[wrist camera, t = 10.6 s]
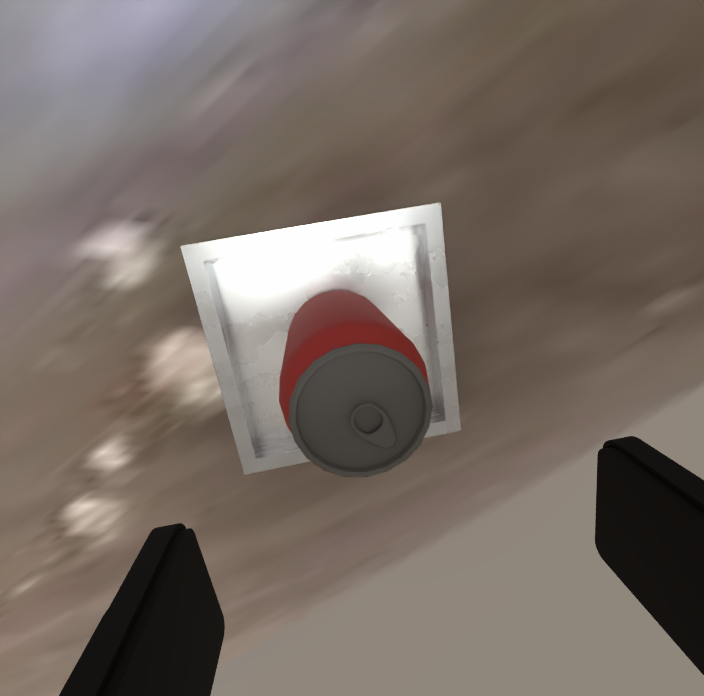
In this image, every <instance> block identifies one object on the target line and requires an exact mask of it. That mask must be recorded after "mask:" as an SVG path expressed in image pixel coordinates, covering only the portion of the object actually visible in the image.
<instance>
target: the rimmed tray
mask: <svg viewBox="0 0 704 696" xmlns="http://www.w3.org/2000/svg"><path fill="white" fill-rule="evenodd" d="M180 247H181V250H182V254H183V257H184V261H185V264H186V268H187V272H188V275H189V279H190V282H191V286H192V289H193V293H194V297H195V300H196V304H197V307H198V311H199V314H200V318H201V321H202V325H203V329H204V332H205V336H206V339H207V343H208V346H209V350H210V353H211V357H212V361H213V364H214V368H215V371H216V375H217V378H218V382H219V386H220V389H221V393H222V396H223V400H224V403H225V407H226V410H227V414H228V418H229V421H230V425H231V428H232V432H233V435H234V439H235V442H236V446H237V450H238V453H239V457H240V460H241V464H242V467H243V471H244V474H245V475H246V474H251V473H255V472H260V471H265V470H270V469H275V468H280V467H285V466H290V465H295V464H300V463H305V462H309V461H310V460H308V459H307V458H306V457H305V455H304V454H303V453H302V451H301V450H300V449H299V447H298V446H297V445H296V443H295V442H294V438H293V435H292V433H291V432H290V430H289V429H288V427H287V425H286V422H285V419H284V416H283V413H282V409H281V406H280V403H279V383H280V374H281V368H282V363H283V358H284V352H285V347H286V342H287V336H288V331H289V327H290V325H291V322H292V320H293V317H294V315H295V313H296V312H297V311H298V310H299V309H300V307H301V306H302V305H303V304H304V303H305V302H306V301H308V300H309V299H311V298H313V297H314V296H316V295H317V294H319V293H323V292H328V291H332V290H344V291H352V292H354V293H357V294H359V295H362V296H364V297H366V298H367V299H368V300H369V301H370V302H372V303H373V304H374V305H375V306H376V307H377V308H378V309H379V310H380V311H381V312H382V313H383V314H384V315H385V316H386V317H387V318H388V319H389V320H390V321H391V322H392V323H393V324H394V325H395V326H396V327H397V328H398V329H399V330H400V331H401V332H402V333H403V334H404V335H405V336H406V337H408V338H409V339H410V340H411V341H412V342H413V343H414V345H415V347H416V348H417V350H418V352H419V354H420V355H421V357H422V359H423V361H424V362H425V366H426V370H427V376H428V381H429V386H430V394H431V399H432V405H433V407H432V414H431V421H430V426H429V428H428V430H427V432H426V434H425V436H424V438H427V437H432V436H437V435H442V434H447V433H452V432H457V431H461V425H460V414H459V402H458V391H457V380H456V369H455V358H454V347H453V336H452V324H451V313H450V302H449V291H448V280H447V269H446V258H445V246H444V235H443V224H442V213H441V202H440V203H434V204H428V205H422V206H416V207H410V208H404V209H398V210H392V211H386V212H380V213H374V214H368V215H363V216H357V217H351V218H345V219H339V220H333V221H327V222H321V223H315V224H309V225H303V226H297V227H291V228H285V229H279V230H273V231H267V232H261V233H255V234H249V235H243V236H237V237H231V238H225V239H219V240H213V241H207V242H201V243H195V244H189V245H183V246H180Z"/></svg>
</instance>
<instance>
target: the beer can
mask: <svg viewBox="0 0 704 696" xmlns="http://www.w3.org/2000/svg"><path fill="white" fill-rule="evenodd" d="M279 403H280V406H281V409H282V413H283V416H284V419H285V422H286V425H287V427H288V429H289V430H290V432H291V433H292V435H293V438H294V442H295V443H296V445H297V446H298V447H299V449H300V450H301V451H302V453H303V454H304V455H305V457H306V458H307V459H308V460H310V461H311V462H313V463H314V464H316V465H317V466H318V467H320V468H321V469H323V470H324V471H327V472H331V473H334V474H337V475H341V476H344V477H368V476H372V475H375V474H379V473H383V472H386V471H388V470H390V469H392V468H394V467H395V466H397V465H399V464H400V463H402V462H404V461H405V460H406V459H407V458H408V457H409V456H410V455H411V454H412V453H413V452H414V451H415V450H416V449H417V448H418V447H419V446H420V444H421V442H422V440H423V438H424V436H425V434H426V432H427V430H428V428H429V426H430V421H431V414H432V407H433V405H432V399H431V394H430V386H429V381H428V376H427V370H426V366H425V362H424V361H423V359H422V357H421V355H420V354H419V352H418V350H417V348H416V347H415V345H414V343H413V342H412V341H411V340H410V339H409V338H408V337H406V336H405V335H404V334H403V333H402V332H401V331H400V330H399V329H398V328H397V327H396V326H395V325H394V324H393V323H392V322H391V321H390V320H389V319H388V318H387V317H386V316H385V315H384V314H383V313H382V312H381V311H380V310H379V309H378V308H377V307H376V306H375V305H374V304H373V303H372V302H370V301H369V300H368V299H367V298H366V297H364V296H362V295H359V294H357V293H354V292H352V291H344V290H332V291H328V292H323V293H319V294H317V295H316V296H314V297H313V298H311V299H309V300H308V301H306V302H305V303H304V304H303V305H302V306H301V307H300V309H299V310H298V311H297V312H296V313H295V315H294V317H293V320H292V322H291V325H290V327H289V331H288V336H287V342H286V347H285V352H284V358H283V363H282V368H281V374H280V383H279Z"/></svg>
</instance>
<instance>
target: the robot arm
mask: <svg viewBox="0 0 704 696" xmlns="http://www.w3.org/2000/svg"><path fill="white" fill-rule="evenodd" d="M595 544H596V548H597V550H598V552H599V554H600V556H601V557H602V559H603V560H604V561H605V562H606V564H607V565H608V566H609V567H610V568H611V569H612V570H613V572H614V573H615V574H616V575H617V576H618V577H619V579H620V580H621V581H622V582H623V583H624V584H625V585H626V587H627V588H628V589H629V590H630V591H631V592H632V593H633V595H634V596H635V597H636V598H637V599H638V600H639V602H640V603H641V604H642V605H643V606H644V607H645V608H646V609H647V611H648V612H649V613H650V614H651V615H652V616H653V618H654V619H655V620H656V621H657V622H658V623H659V625H660V626H661V627H662V628H663V629H664V630H665V631H666V632H667V634H668V635H669V636H670V637H671V638H672V639H673V641H674V642H675V643H676V644H677V645H678V646H679V647H680V649H681V650H682V651H683V652H684V653H685V654H686V656H687V657H688V658H689V659H690V660H691V661H692V662H693V663H694V665H695V666H696V667H697V668H698V669H699V670H700V672H701V673H702V674H703V675H704V480H702V479H701V478H699V477H698V476H696V475H695V474H693V473H691V472H690V471H688V470H687V469H685V468H684V467H682V466H681V465H679V464H678V463H676V462H674V461H673V460H671V459H670V458H668V457H667V456H665V455H664V454H662V453H660V452H659V451H657V450H655V449H654V448H653V447H651V446H650V445H648V444H647V443H645V442H643V441H642V440H640V439H639V438H637V437H633V436H629V437H624V438H619V439H614V440H609V441H606V442H605V443H604V445H603V448H602V449H600V450H599V452H598V464H597V495H596V527H595ZM224 629H225V625H224V617H223V614H222V611H221V608H220V605H219V602H218V599H217V596H216V594H215V591H214V588H213V585H212V582H211V579H210V576H209V573H208V570H207V568H206V565H205V562H204V559H203V556H202V553H201V550H200V547H199V545H198V542H197V539H196V536H195V533H194V531H193V530H192V529H190V528H189V529H186V527H185V526H184V525H183V524H181V523H179V524H174V525H168V526H163V527H158V528H155V529H153V530H152V531H151V533H150V534H149V536H148V538H147V540H146V542H145V543H144V545H143V547H142V549H141V551H140V553H139V554H138V556H137V558H136V560H135V562H134V563H133V565H132V567H131V569H130V571H129V572H128V574H127V576H126V578H125V580H124V582H123V583H122V585H121V587H120V589H119V591H118V592H117V594H116V596H115V598H114V600H113V602H112V603H111V605H110V607H109V609H108V610H107V611H106V613H105V614H104V616H103V617H102V619H101V621H100V623H99V624H98V626H97V628H96V630H95V632H94V634H93V635H92V637H91V639H90V641H89V643H88V644H87V646H86V648H85V650H84V652H83V653H82V655H81V657H80V659H79V661H78V662H77V664H76V666H75V668H74V670H73V671H72V673H71V675H70V677H69V679H68V680H67V682H66V684H65V686H64V688H63V689H62V691H61V693H60V695H59V696H210V694H211V690H212V685H213V681H214V677H215V672H216V668H217V664H218V659H219V655H220V651H221V646H222V642H223V637H224Z"/></svg>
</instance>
